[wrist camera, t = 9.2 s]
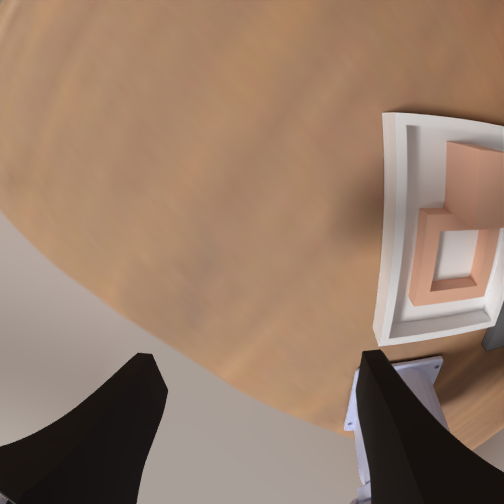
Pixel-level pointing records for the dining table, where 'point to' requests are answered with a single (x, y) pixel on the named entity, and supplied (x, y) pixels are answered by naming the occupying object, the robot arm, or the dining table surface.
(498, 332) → the grey plate with knob
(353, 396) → the robot arm
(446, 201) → the ring
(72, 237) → the dining table surface
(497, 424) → the dining table surface
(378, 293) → the tray
